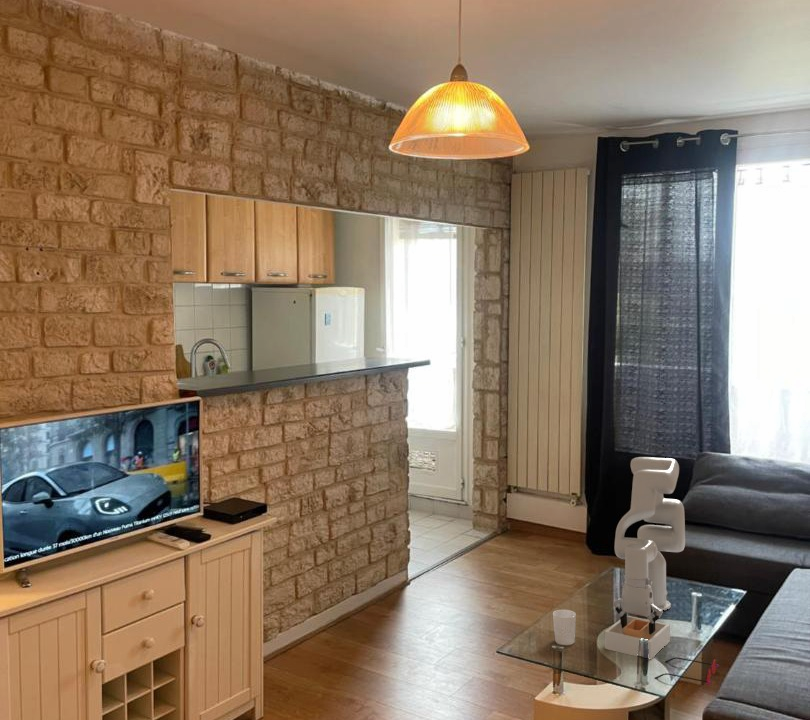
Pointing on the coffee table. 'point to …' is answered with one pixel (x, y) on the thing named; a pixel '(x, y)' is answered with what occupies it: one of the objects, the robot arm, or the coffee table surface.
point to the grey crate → (630, 644)
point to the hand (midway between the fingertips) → (637, 630)
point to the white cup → (564, 626)
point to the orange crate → (637, 629)
